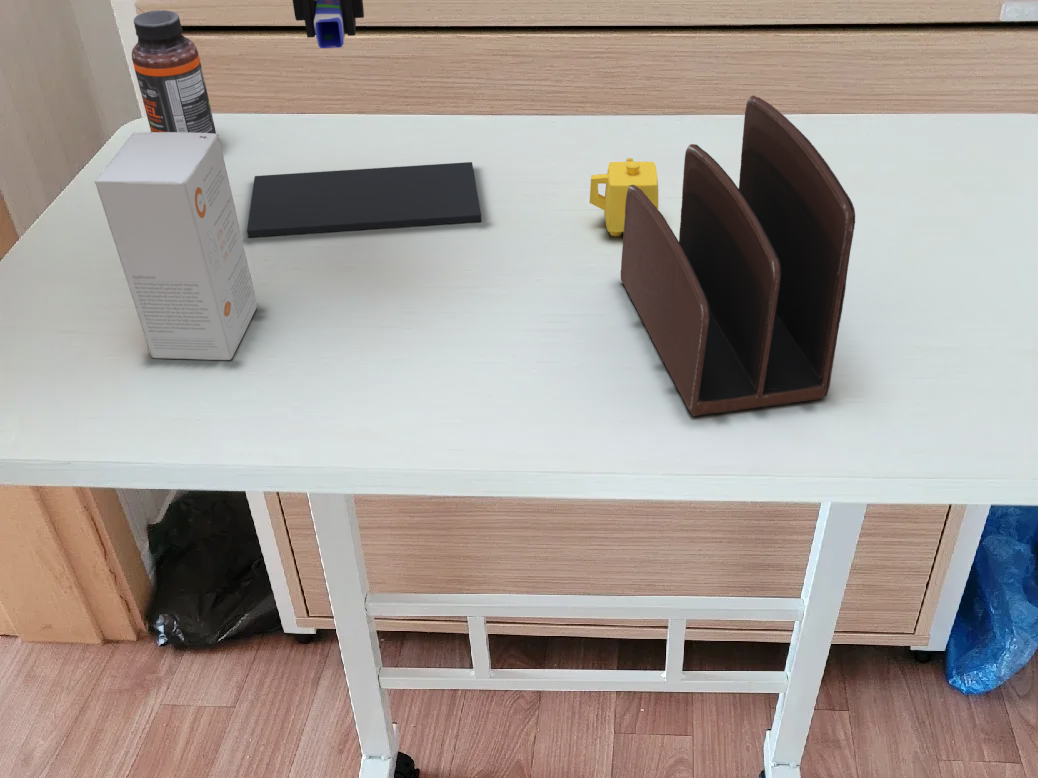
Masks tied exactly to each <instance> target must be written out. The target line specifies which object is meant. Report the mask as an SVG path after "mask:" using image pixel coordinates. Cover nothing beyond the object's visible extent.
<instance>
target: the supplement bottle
mask: <svg viewBox="0 0 1038 778" xmlns="http://www.w3.org/2000/svg"><path fill="white" fill-rule="evenodd" d="M133 24H134V25H133V26H134V29H135V35H136V36H137V43H136V44H135V45H134V46H133V48H132V49H131V60H132V65H133V69H134V72H135V76H136V80H137V83H138V88H139V92H140V95H141V99H142V102H143V106H144V111H145V115H146V117H147V121H148V125H149V129H150V132H189V133H213V134H217V131H216V130H217V129H216V127H215V126H216V125H215V122H214V117H213V113H212V108H211V104H210V99H209V94H208V89H207V85H206V80H205V75H204V72H203V67H202V63H201V59H200V53H199V51H198V48H197V46H196V44H195V43H194V42H193V40H191V39H190V38H188V37H186V36H184V35H183V34H182V32H183V27H182V24H181V20H180V16H179V14H178V13H177V12H175V11H172V10H165V9H162V10H160V9H157V10H149V11H145V12H143V13H142V12H141V13H140V14H138V15H136V16H135V17H134V18H133Z"/></svg>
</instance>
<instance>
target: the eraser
mask: <svg viewBox="0 0 1038 778" xmlns="http://www.w3.org/2000/svg"><path fill="white" fill-rule="evenodd" d="M314 27H315V33H316V35H315V38H316V44H317V46H318V47H319V49H335V48H338V49H339V48H342V47H343V46H344V43H345V36H346V34H345V31H344V23H343V16H342V8H341V0H316V7H315V18H314Z"/></svg>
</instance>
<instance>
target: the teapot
mask: <svg viewBox="0 0 1038 778" xmlns="http://www.w3.org/2000/svg"><path fill="white" fill-rule="evenodd" d="M599 184H601V185H602V184H605V191H604V195H602V194H600V193H599ZM630 185H635V186H637V187H638V188H639V189H641V190H642V191H643V192H644V194H645V195H646V196H647V197H648V198H649V200H650V201H651V202H652V203H653V204H654V205H655V207H656V208H657V209H658V210H659V180H658V172H657V165H656V163H655V162H654V161H634V158H632V157H631V158H628V157H627V158H626V160H625V161H610V162H609V163H608V167H607V173H601V174H591V175H590V189H589V204H591V205H593V206H595V207H597V208H599V209H601V210H603V211H604V212H603V213H604V220H605V225H606V231H607V232H608V233H609V235H610V236H612V237H620V236H621V235H622V234H623V233H624V221H625V204H626V196H627V191H628V188H629V186H630Z"/></svg>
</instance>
